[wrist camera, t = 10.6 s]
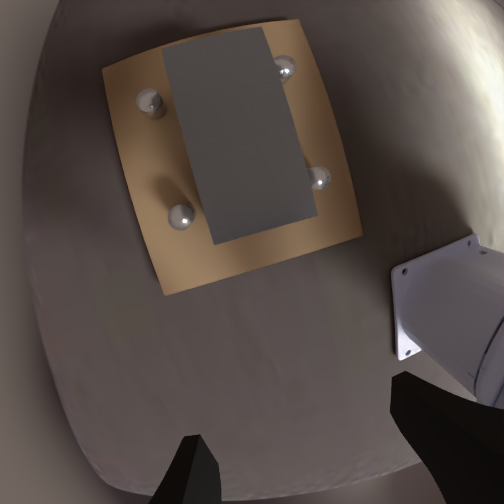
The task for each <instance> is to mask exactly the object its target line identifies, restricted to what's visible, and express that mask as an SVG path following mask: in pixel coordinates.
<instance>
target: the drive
mask: <svg viewBox="0 0 504 504" xmlns="http://www.w3.org/2000/svg"><path fill="white" fill-rule="evenodd" d="M161 51H162V55H163V59H164V64H165V68H166V72H167V76H168V80H169V84H170V88H171V92H172V96H173V100H174V104H175V108H176V112H177V116H178V120H179V123H180V127H181V131H182V135H183V139H184V142H185V146H186V150H187V153H188V157H189V161H190V164H191V168H192V171H193V175H194V179H195V182H196V186H197V189H198V193H199V196H200V200H201V203H202V206H203V210H204V213H205V217H206V220H207V223H208V227H209V230H210V233H211V237H212V240H213V243H214V245H218V244H221V243H224V242H228V241H231V240H235V239H238V238H242V237H245V236H249V235H252V234H256V233H259V232H262V231H266V230H269V229H273V228H277V227H280V226H284V225H287V224H291V223H294V222H298V221H301V220H305V219H309V218H312V217H316V216H318V212H317V208H316V204H315V200H314V195H313V191H312V187H311V183H310V179H309V175H308V171H307V168H306V164H305V160H304V156H303V153H302V149H301V145H300V142H299V138H298V135H297V131H296V128H295V124H294V121H293V118H292V114H291V111H290V108H289V104H288V101H287V98H286V95H285V92H284V89H283V86H282V82H281V79H280V76H279V73H278V70H277V68H276V65H275V62H274V59H273V56H272V53H271V50H270V48H269V45H268V42H267V39H266V37H265V34H264V31H263V29H262V27H255V28H248V29H242V30H236V31H231V32H225V33H221V34H216V35H211V36H207V37H203V38H199V39H195V40H191V41H187V42H183V43H180V44H176V45H173V46H170V47H166V48H163V49H161Z"/></svg>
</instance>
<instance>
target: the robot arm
mask: <svg viewBox="0 0 504 504" xmlns="http://www.w3.org/2000/svg"><path fill="white" fill-rule="evenodd" d="M467 243H468V244H467ZM403 269H405V272H404V273H403V274H402V271H403ZM391 281H392V291H393V303H394V318H395V341H396V358H397V359H398V360H403V359H405V358H407V357H409V356H411V355H413V354H415V353H417V352H419V351H421V350H423V351H424V352H426V353H427V354H428V355H429V356H430V357H431V358H432V359H434V360H435V361H436V362H437V363H438V364H439V365H440V366H441V367H443V368H444V369H445V370H446V371H447V372H448V373H449V374H450V375H452V376H453V377H454V378H455V379H456V380H457V381H458V382H459V383H460V384H462V385H463V386H464V387H465V388H466V389H467V390H468V391H469V392H470V393H471V394H472V395H474V396H475V397H476V398H477V402H473V401H470V400H467V399H465V398H462V397H459V396H457V395H454V394H452V393H450V392H447V391H445V390H443V389H441V388H439V387H437V386H435V385H432V384H430V383H428V382H426V381H424V380H422V379H421V378H419V377H417V376H415V375H413V374H411V373H409V372H407V371H404V372H402V373H400V374H398V375H396V376H393V377H392V387H391V404H390V413H391V415H392V417H393V419H394V421H395V423H396V425H397V426H398V428H399V430H400V432H401V433H402V434H403V436H404V437H405V439H406V440H407V441H408V443H409V444H410V445H411V447H412V448H413V449H414V451H415V452H416V453H417V455H418V456H419V457H420V459H421V460H422V461H423V463H424V464H425V465H426V467H427V468H428V470H429V471H430V473H431V474H432V476H433V478H434V480H435V482H436V483H437V485H438V487H439V489H440V491H441V493H442V495H443V497H444V499H445V501H446V504H504V253H502V252H499V251H496V250H492V249H489V248H486V247H483V246H480V243H479V236H478V234H475V233H474V234H471V235H469V236H467V237H464V238H462V239H460V240H458V241H455V242H453V243H451V244H449V245H446V246H444V247H442V248H439V249H437V250H435V251H432V252H430V253H427V254H425V255H423V256H420V257H418V258H415V259H413V260H410V261H408V262H405V263H403V264H400V265H398V266H395V267H394V268H393V269H392V271H391ZM148 504H221V480H220V473H219V466H218V463H217V461H216V460H215V458H214V456H213V455H212V453H211V452H210V450H209V448H208V447H207V445H206V444H205V442H204V440H203V439H202V437H201V435H200V434H199V435H192V436H185V437H184V438H183V439H182V441H181V443H180V446H179V448H178V450H177V452H176V454H175V456H174V458H173V461H172V463H171V465H170V467H169V469H168V471H167V472H166V474H165V476H164V478H163V480H162V482H161V484H160V485H159V487H158V489H157V490H156V492H155V494H154V495H153V497H152V499H151V500H150V502H149V503H148Z"/></svg>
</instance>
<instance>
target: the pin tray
mask: <svg viewBox="0 0 504 504" xmlns="http://www.w3.org/2000/svg"><path fill="white" fill-rule="evenodd" d="M255 27H262V29H263V31H264V34H265V37H266V39H267V42H268V45H269V48H270V50H271V53H272V56H273V59H274V62H275V65H276V68H277V70H278V73H279V76H280V79H281V82H282V86H283V89H284V92H285V95H286V98H287V101H288V104H289V108H290V111H291V114H292V118H293V121H294V124H295V128H296V131H297V135H298V138H299V142H300V145H301V149H302V153H303V156H304V160H305V164H306V168H307V171H308V175H309V179H310V183H311V187H312V191H313V195H314V200H315V204H316V208H317V212H318V216H316V217H312V218H309V219H305V220H301V221H298V222H294V223H291V224H287V225H284V226H280V227H277V228H273V229H269V230H266V231H262V232H259V233H256V234H252V235H249V236H245V237H242V238H238V239H235V240H231V241H228V242H224V243H221V244H218V245H214V243H213V240H212V237H211V233H210V230H209V227H208V223H207V220H206V217H205V213H204V210H203V206H202V203H201V200H200V196H199V193H198V189H197V186H196V182H195V179H194V175H193V171H192V168H191V164H190V161H189V157H188V153H187V150H186V146H185V142H184V139H183V135H182V131H181V127H180V123H179V120H178V116H177V112H176V108H175V104H174V100H173V96H172V92H171V88H170V84H169V80H168V76H167V72H166V68H165V64H164V59H163V55H162V51H161V49H163V48H166V47H170V46H173V45H176V44H180V43H183V42H187V41H191V40H195V39H199V38H203V37H207V36H211V35H216V34H221V33H225V32H231V31H236V30H242V29H248V28H255ZM102 73H103V79H104V85H105V90H106V96H107V101H108V106H109V111H110V116H111V121H112V125H113V130H114V134H115V138H116V143H117V147H118V151H119V155H120V159H121V163H122V166H123V170H124V174H125V178H126V181H127V185H128V188H129V192H130V195H131V199H132V202H133V205H134V209H135V212H136V215H137V218H138V222H139V225H140V228H141V231H142V234H143V237H144V240H145V243H146V246H147V249H148V252H149V254H150V257H151V260H152V263H153V266H154V268H155V271H156V274H157V277H158V279H159V282H160V285H161V287H162V290H163V292H164V295H165V296H166V295H170V294H173V293H177V292H180V291H184V290H187V289H190V288H194V287H197V286H201V285H204V284H208V283H211V282H214V281H218V280H221V279H224V278H228V277H231V276H235V275H238V274H241V273H245V272H248V271H251V270H255V269H258V268H261V267H264V266H268V265H271V264H274V263H278V262H281V261H284V260H287V259H291V258H294V257H297V256H300V255H303V254H307V253H310V252H313V251H316V250H320V249H323V248H326V247H329V246H332V245H335V244H339V243H342V242H345V241H348V240H351V239H354V238H357V237H360V236H363V231H362V226H361V221H360V216H359V211H358V206H357V201H356V197H355V192H354V188H353V183H352V179H351V175H350V171H349V167H348V163H347V159H346V155H345V151H344V148H343V144H342V140H341V137H340V133H339V130H338V127H337V123H336V120H335V117H334V113H333V110H332V107H331V104H330V101H329V98H328V95H327V92H326V89H325V86H324V83H323V80H322V77H321V75H320V72H319V69H318V66H317V64H316V61H315V58H314V56H313V53H312V51H311V48H310V46H309V43H308V41H307V38H306V36H305V34H304V31H303V29H302V26H301V24H300V22H299V20H298V19H296V20H284V21H274V22H266V23H258V24H251V25H245V26H239V27H234V28H228V29H223V30H219V31H214V32H210V33H205V34H201V35H197V36H193V37H190V38H186V39H182V40H179V41H176V42H172V43H169V44H166V45H163V46H160V47H157V48H154V49H151V50H148V51H145V52H142V53H140V54H137V55H134V56H132V57H129V58H127V59H124V60H122V61H119V62H117V63H115V64H112V65H110V66H108V67H105V68H103V69H102Z"/></svg>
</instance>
